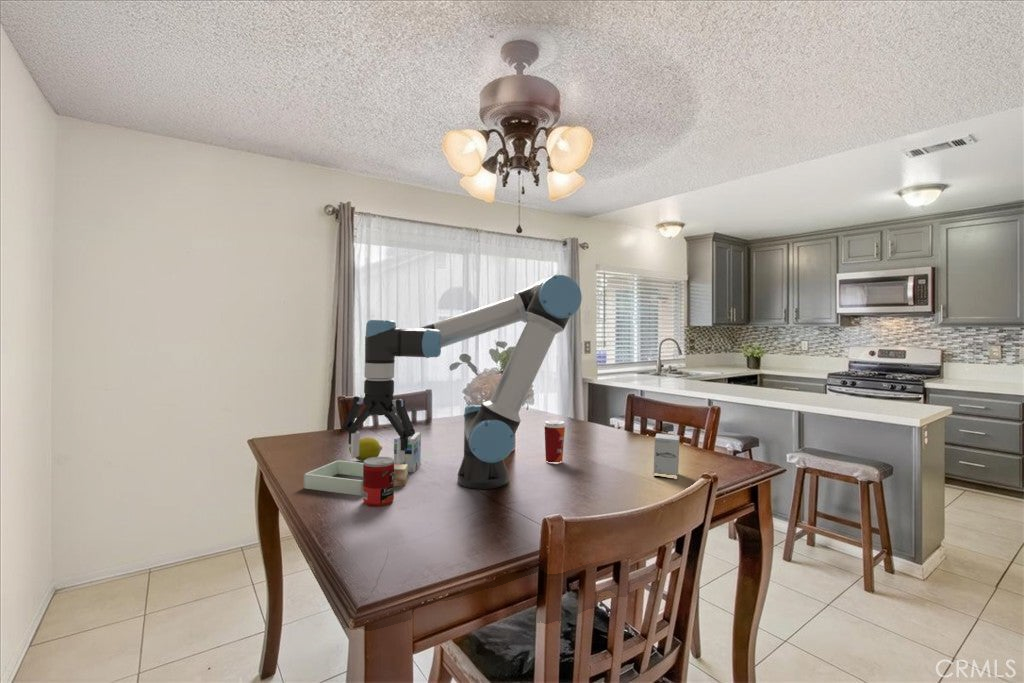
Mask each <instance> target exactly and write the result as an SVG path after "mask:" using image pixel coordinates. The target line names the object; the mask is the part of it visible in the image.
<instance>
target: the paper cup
mask: <svg viewBox="0 0 1024 683" xmlns="http://www.w3.org/2000/svg"><path fill="white" fill-rule="evenodd" d="M543 427H544V446H545V447H544V449H545V462H546V461H548V462H560V461H562V462H563V458H564V457H563V456H564V455H563V454H564V444H565V432H566V423H565V421H563V420H557V419H554V420H553V419H550V420H545V421H544V424H543Z"/></svg>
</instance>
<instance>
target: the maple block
mask: <svg viewBox="0 0 1024 683" xmlns="http://www.w3.org/2000/svg"><path fill="white" fill-rule="evenodd" d="M408 473H409V472H408V464H394V487H406V484H407V483H408V481H409V480H408V479H409V478H408V477H409V476H408V475H409V474H408Z"/></svg>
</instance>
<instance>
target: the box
mask: <svg viewBox="0 0 1024 683" xmlns="http://www.w3.org/2000/svg"><path fill="white" fill-rule="evenodd" d="M363 463H364V462H357V461H356V462H355V461H348V460H347V461H346V460H335V461H333V462H330V463H327V464H325V465H323V466H320V467H318V468H315V469H312V470H311V471H308V472H305V473H304V474H303V489H307V490H314V491H322V492H329V493H336V494H346V495H353V496H359V497H360V496H361V497H363V479H362V480H361V479H354V478H353V479H352V478H344V477H337V476H336V475H346V476H347V475H348V476H353V477H354V476H355V477H360V478H363Z"/></svg>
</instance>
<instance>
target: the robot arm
mask: <svg viewBox="0 0 1024 683" xmlns="http://www.w3.org/2000/svg"><path fill="white" fill-rule="evenodd" d="M581 303H582V291H581V288H580V286H579V285H578V283H577V282H576V281H575V280H574V279H573V278H571V277H570V276H568V275H564V274H552V275H549V276H547V277H545V278H544V279H541V280H539V281H537V282H536V283H533V284H532V285H530V286H528V287H527V288H524V289H521V290H519V291H515V292H514V294H513V296H512V297H508V298H506V299H502V300H499V301H497V302H494V303H491V304H488V305H484V306H481V307H479V308H476V309H473V310H470V311H467V312H463V313H460V314H458V315H455V316H451V317H448V318H445V319H442V320H440V321H436V322H434V323H431V324H427V325H425V326H421V327H417V328H402V327H397V325H396V321H395V320H386V319H370V320H368V321H367V322H366V326H365V336H364V372H363V373H364V375H363V376H364V378H365V380H364V382H363V383H364V385H363V392H364V396H363V395H362V394H359V395H355V396H353V399H352V405H351V406H350V407H351V408H350V409H349V411H348V413H347V415H346V418H345V420H344V422H343V424H342V427H341V429H342V430H343V431H347V432H348V444H349V445H350V446H351V454H350V459H356V458H355V457H358V456H359V440H360V439H361V438H360V434H361V433H360V431H359V430H358V429H360V427H361V426H362V425H363V424H364V422H365V421H366V420H367V419H368V418H369V416H370V415H373V416H374V415H377V416H384V417H385V418H386V419H387V420H388V422H389V424H391V426H392V428H393V429H394V430H395V431H396V433H397V436H398V435H399V436H400V438H397V464H400V463H402V462H404V458H405V450H407V448H408V437H409V436H412V435H414V434H415V432H416V431H415V428H414V426H413V423H412V421H411V419H410V416H409V414H408V411H407V408H406V403H405V399H404V398H399V399H394V392H395V380H394V378H395V358H396V357H400V358H401V357H405V358H406V357H407V358H410V357H411V358H426V359H429V358H438V357H440V356H441V351H442V350H441V349H442V348H444V347H448V346H450V345H454V344H456V343H459V342H462V341H465V340H468V339H471V338H474V337H477V336H481V335H483V334H486V333H489V332H492V331H495V330H497V329H500V328H504V327H507V326H509V325H513V324H515V323H518V322H522V323H525V326H524V327H523V330H522V332H521V334H520V335H519V338H518V340H517V342H516V344H515V347H514V348H513V351H512V352H511V355H510V357H509V359H508V362H507V363H506V365H505V368H504V370H503V372H502V373H501V376H500V377H499V380H498V382H497V384H496V387H495V389H494V390H493V392H492V395H491V397H490V399H489V400H486V401H483V402H482V403H481V404H475V405H474V404H471V405H467V406H465V408H464V411H463V412H464V413H463V418H464V420H463V421H464V422H463V426H464V427H463V457H462V460H461V463H460V467H459V469H458V471H457V483H458V484H459V485H460V486H462V487H464V488H468V489H475V490H487V489H489V490H490V489H497V488H501V487H503V485H504V486H506V485H507V484H508V482H509V473H508V470H507V466H506V463H505V459H506V458H507V457H509V455H511V452H513V448H514V447H515V446H514V445H515V439H516V438H515V434H516V433H517V430H518V429H519V426H520V424H521V421H522V420H521V417H520V415H519V413H520V411H521V408H522V406H523V404H524V402H525V400H526V398H527V396H528V394H529V392H530V390H531V388H532V385H533V383H534V381H535V379H536V377H537V374H538V373H539V370H540V369H541V366H542V364H543V362H544V359H545V357H546V356H547V354H548V351H549V349H550V347H551V345H552V343H553V341H554V338H555V337H556V335H557V334H559V333H561V332H564V330H565V328H566V326H567V324H568V322H569V320H570V318H571V317H572V316H573V315H574V314H575V313H577V311H579V309H580V307H581ZM363 404H364V406H365V407H364V408H363V409H362V410H361V407H362V405H363ZM393 407H394V408H396V411H395V409H394V408H393ZM360 410H361V413H360V414H359V412H360ZM396 412H397V414H396ZM358 414H359V416H358Z"/></svg>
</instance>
